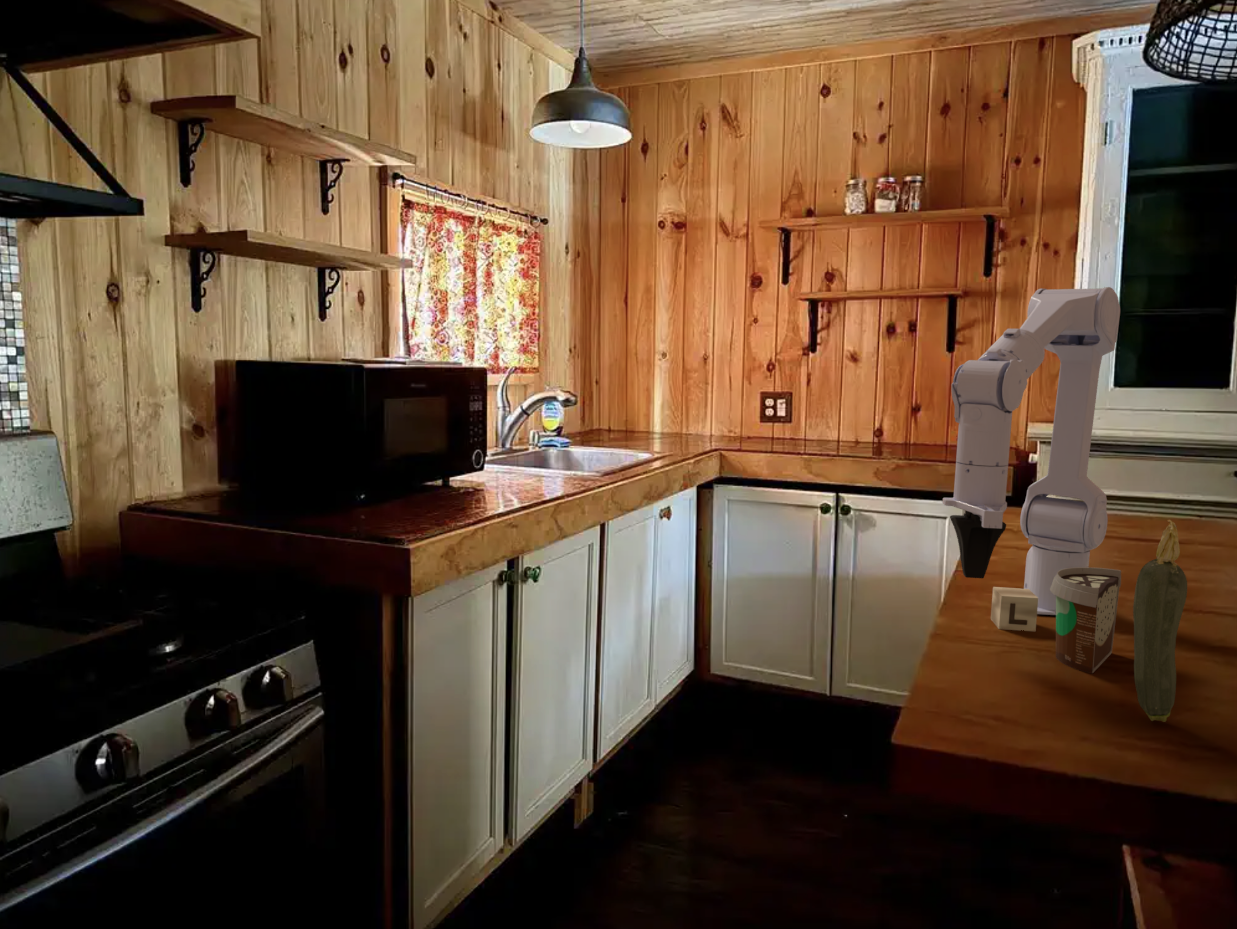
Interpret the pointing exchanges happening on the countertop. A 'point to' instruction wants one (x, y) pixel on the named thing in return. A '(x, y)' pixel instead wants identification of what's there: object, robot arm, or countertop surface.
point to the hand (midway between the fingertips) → (973, 576)
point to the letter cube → (1014, 609)
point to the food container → (1085, 615)
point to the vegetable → (1158, 626)
